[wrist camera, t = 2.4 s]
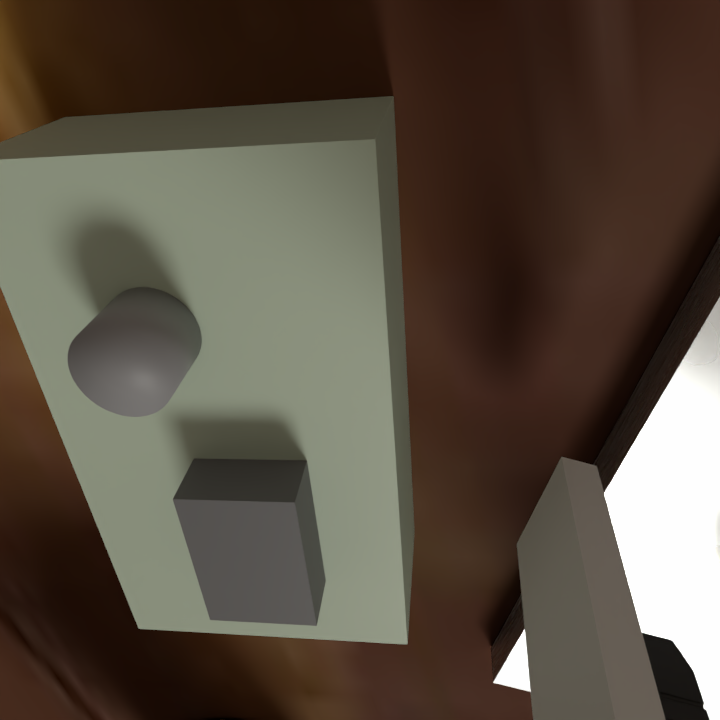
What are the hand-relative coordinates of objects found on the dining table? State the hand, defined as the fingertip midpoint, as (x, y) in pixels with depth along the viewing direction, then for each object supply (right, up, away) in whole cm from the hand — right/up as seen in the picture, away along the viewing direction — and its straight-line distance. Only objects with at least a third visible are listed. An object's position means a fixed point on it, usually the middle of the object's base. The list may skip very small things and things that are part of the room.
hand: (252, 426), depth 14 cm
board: (0, +2, +3) cm, 3 cm away
